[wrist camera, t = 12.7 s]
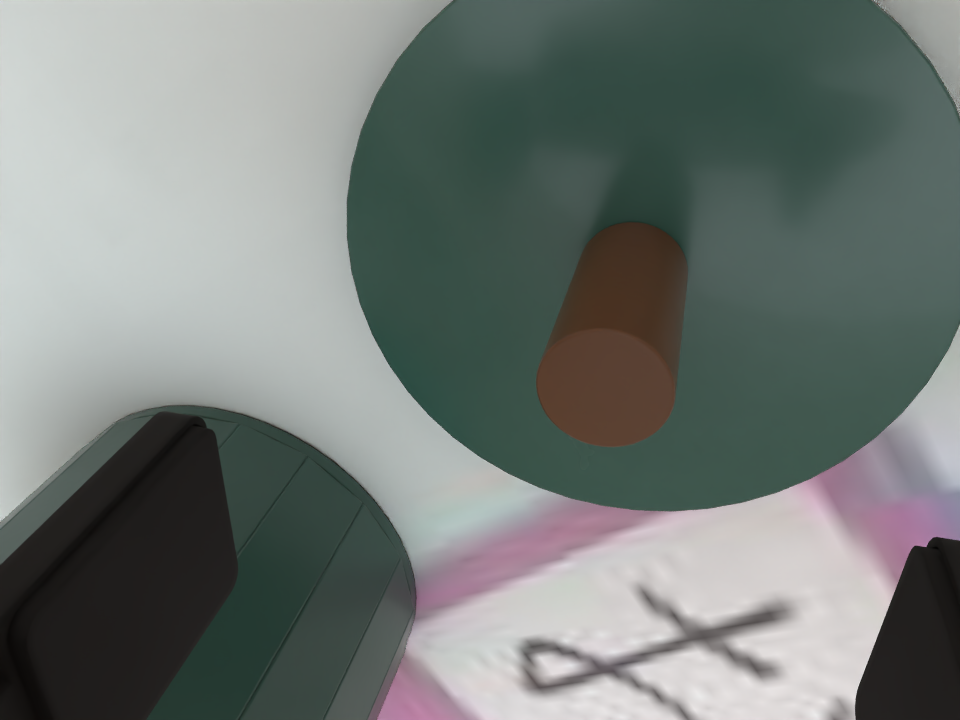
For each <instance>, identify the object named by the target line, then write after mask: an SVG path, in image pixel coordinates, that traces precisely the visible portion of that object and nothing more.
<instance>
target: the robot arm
mask: <svg viewBox="0 0 960 720" xmlns="http://www.w3.org/2000/svg"><path fill="white" fill-rule="evenodd" d="M237 576H238V561H237V555H236V549H235V544H234V538H233V532H232V526H231V520H230V515H229V509H228V503H227V497H226V491H225V485H224V480H223V474H222V468H221V462H220V456H219V450H218V445H217V439H216V435H215V433H214V431H213V430H212V429H209V428H207V426H206V423H205V421H204V420H203V419H202V418H200V417H198V416H192V415H186V414H180V413H174V412H168V411H162V412H158V413H157V414H156V415H154V416H153V417H152V418H151V419H150V420H149V421H148V422H147V423H146V424H145V425H144V426H143V427H142V428H141V429H140V430H139V431H138V432H137V433H136V434H135V435H134V436H132V437H131V438H130V439H129V440H128V441H127V442H126V443H125V444H124V445H123V446H122V447H121V448H120V449H119V450H118V451H117V452H116V453H115V454H114V455H113V456H112V457H111V458H110V459H109V460H108V461H107V462H106V463H105V464H104V465H103V466H102V467H101V468H100V469H98V470H97V471H96V472H95V473H94V474H93V475H92V476H91V477H90V478H89V479H88V480H87V481H86V482H85V483H84V484H83V485H82V486H81V487H80V488H79V489H78V490H77V491H76V492H75V493H74V494H73V495H72V496H71V497H70V498H69V499H68V500H67V501H66V502H64V503H63V504H62V505H61V506H60V507H59V508H58V509H57V510H56V511H55V512H54V513H53V514H52V515H51V516H50V517H49V518H48V519H47V520H46V521H45V522H44V523H43V524H42V525H41V526H40V527H39V528H38V529H37V530H36V531H35V532H34V533H33V534H32V535H30V536H29V537H28V538H27V539H26V540H25V541H24V542H23V543H22V544H21V545H20V546H19V547H18V548H17V549H16V550H15V551H14V552H13V553H12V554H11V555H10V556H9V557H8V558H7V559H6V560H5V561H4V562H3V563H2V564H1V565H0V720H146V719H147V718H148V716H149V715H150V713H151V712H152V710H153V709H154V707H155V706H156V704H157V703H158V701H159V700H160V698H161V697H162V695H163V694H164V692H165V691H166V689H167V688H168V686H169V685H170V683H171V682H172V680H173V679H174V677H175V676H176V674H177V673H178V671H179V670H180V668H181V667H182V665H183V664H184V662H185V661H186V659H187V658H188V656H189V655H190V653H191V652H192V650H193V649H194V647H195V646H196V644H197V643H198V641H199V640H200V638H201V637H202V635H203V634H204V632H205V631H206V629H207V628H208V626H209V625H210V623H211V622H212V620H213V619H214V617H215V616H216V614H217V613H218V611H219V610H220V608H221V607H222V605H223V604H224V602H225V601H226V599H227V598H228V596H229V595H230V593H231V592H232V590H233V588H234V586H235V583H236V580H237ZM855 716H856V720H960V541H958V540H952V539H945V538H939V537H935V538H932V539H931V540H930V541H929V543H928V545H927V547H921V546H914V547H913V548H912V549H911V551H910V553H909V556H908V558H907V561H906V564H905V566H904V569H903V571H902V574H901V577H900V579H899V582H898V585H897V587H896V590H895V592H894V595H893V598H892V600H891V603H890V606H889V608H888V611H887V613H886V616H885V619H884V621H883V624H882V626H881V629H880V632H879V634H878V637H877V640H876V642H875V645H874V647H873V650H872V653H871V655H870V658H869V661H868V663H867V666H866V668H865V671H864V674H863V676H862V679H861V682H860V684H859V687H858V690H857V694H856V702H855Z"/></svg>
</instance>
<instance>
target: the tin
mask: <svg viewBox="0 0 960 720" xmlns="http://www.w3.org/2000/svg"><path fill="white" fill-rule="evenodd" d="M162 411H168V412H174V413H180V414H186V415H192V416H198V417H200V418H202V419H203V420H204V421H205V423H206V426H207V428H209V429H212V430H213V431H214V433H215V435H216V439H217V445H218V450H219V456H220V462H221V468H222V474H223V480H224V485H225V491H226V497H227V503H228V509H229V515H230V520H231V526H232V532H233V538H234V544H235V549H236V555H237V561H238V576H237V580H236V583H235V586H234V588H233V590H232V592H231V593H230V595H229V596H228V598H227V599H226V601H225V602H224V604H223V605H222V607H221V608H220V610H219V611H218V613H217V614H216V616H215V617H214V619H213V620H212V622H211V623H210V625H209V626H208V628H207V629H206V631H205V632H204V634H203V635H202V637H201V638H200V640H199V641H198V643H197V644H196V646H195V647H194V649H193V650H192V652H191V653H190V655H189V656H188V658H187V659H186V661H185V662H184V664H183V665H182V667H181V668H180V670H179V671H178V673H177V674H176V676H175V677H174V679H173V680H172V682H171V683H170V685H169V686H168V688H167V689H166V691H165V692H164V694H163V695H162V697H161V698H160V700H159V701H158V703H157V704H156V706H155V707H154V709H153V710H152V712H151V713H150V715H149V716H148V718H147V719H146V720H377V718H378V716H379V713H380V711H381V708H382V706H383V704H384V701H385V699H386V696H387V694H388V692H389V689H390V687H391V684H392V682H393V679H394V677H395V675H396V672H397V670H398V667H399V665H400V663H401V660H402V658H403V655H404V653H405V649H406V645H407V640H408V637H409V635H410V632H411V629H412V625H413V621H414V618H415V610H416V591H415V582H414V576H413V573H412V569H411V566H410V562H409V559H408V556H407V554H406V552H405V549H404V547H403V545H402V543H401V540H400V538H399V537H398V535H397V533H396V532H395V530H394V528H393V527H392V525H391V523H390V522H389V520H388V518H387V517H386V516H385V515H384V513H383V512H382V511H381V509H380V508H379V507H378V505H377V504H376V503H375V501H374V500H373V499H372V498H371V497H370V496H369V495H368V494H367V493H366V492H365V490H364V489H363V488H362V487H361V486H360V485H359V484H358V483H357V482H356V481H355V480H354V479H353V478H351V477H350V476H349V475H348V474H347V473H346V472H345V471H343V470H342V469H341V468H340V467H339V466H338V465H337V464H335V463H334V462H333V461H331V460H330V459H328V458H327V457H326V456H324V455H323V454H321V453H320V452H319V451H317V450H316V449H314V448H313V447H311V446H309V445H308V444H306V443H304V442H302V441H301V440H299V439H297V438H296V437H294V436H292V435H290V434H288V433H286V432H284V431H282V430H280V429H277V428H275V427H273V426H271V425H269V424H267V423H264V422H261V421H258V420H255V419H252V418H250V417H247V416H244V415H241V414H237V413H232V412H228V411H224V410H219V409H214V408H206V407H197V406H167V407H161V408H154V409H148V410H145V411H142V412H138V413H135V414H132V415H129V416H127V417H125V418H123V419H121V420H119V421H118V422H116V423H114V424H112V425H111V426H110V427H109V428H107V429H106V430H105V431H104V432H102V433H101V434H100V435H99V436H98V437H97V438H95V439H94V440H93V441H91V442H90V443H89V444H87V445H86V446H85V447H83V448H82V449H81V450H80V451H79V452H77V453H76V454H75V455H74V456H73V457H72V458H71V459H70V460H69V461H67V462H66V463H65V464H64V465H63V466H62V467H61V468H60V469H59V470H57V471H56V472H55V473H54V474H53V475H52V476H51V477H50V478H49V479H48V480H46V481H45V482H44V483H43V484H42V485H41V486H40V487H39V488H38V489H36V490H35V491H34V492H33V493H32V494H31V495H30V496H29V497H28V498H26V499H25V500H24V501H23V502H22V503H21V504H20V505H19V506H18V507H16V508H15V509H14V510H13V511H12V512H11V513H10V514H9V515H8V516H6V517H5V518H4V519H3V520H2V521H1V522H0V565H1V564H2V563H3V562H4V561H5V560H6V559H7V558H8V557H9V556H10V555H11V554H12V553H13V552H14V551H15V550H16V549H17V548H18V547H19V546H20V545H21V544H22V543H23V542H24V541H25V540H26V539H27V538H28V537H29V536H30V535H32V534H33V533H34V532H35V531H36V530H37V529H38V528H39V527H40V526H41V525H42V524H43V523H44V522H45V521H46V520H47V519H48V518H49V517H50V516H51V515H52V514H53V513H54V512H55V511H56V510H57V509H58V508H59V507H60V506H61V505H62V504H63V503H64V502H66V501H67V500H68V499H69V498H70V497H71V496H72V495H73V494H74V493H75V492H76V491H77V490H78V489H79V488H80V487H81V486H82V485H83V484H84V483H85V482H86V481H87V480H88V479H89V478H90V477H91V476H92V475H93V474H94V473H95V472H96V471H97V470H98V469H100V468H101V467H102V466H103V465H104V464H105V463H106V462H107V461H108V460H109V459H110V458H111V457H112V456H113V455H114V454H115V453H116V452H117V451H118V450H119V449H120V448H121V447H122V446H123V445H124V444H125V443H126V442H127V441H128V440H129V439H130V438H131V437H132V436H134V435H135V434H136V433H137V432H138V431H139V430H140V429H141V428H142V427H143V426H144V425H145V424H146V423H147V422H148V421H149V420H150V419H151V418H152V417H153V416H154V415H156V414H157V413H158V412H162Z"/></svg>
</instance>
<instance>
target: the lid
mask: <svg viewBox="0 0 960 720" xmlns="http://www.w3.org/2000/svg"><path fill="white" fill-rule="evenodd" d="M347 241H348V248H349V256H350V263H351V271H352V275H353V279H354V282H355V286H356V290H357V294H358V298H359V301H360V305H361V307H362V310H363V312H364V315H365V317H366V320H367V322H368V325H369V327H370V330H371V332H372V335H373V337H374V338H375V340H376V342H377V344H378V346H379V348H380V349H381V351H382V353H383V355H384V357H385V359H386V360H387V362H388V364H389V365H390V367H391V368H392V370H393V371H394V373H395V374H396V375H397V377H398V378H399V380H400V381H401V383H402V384H403V385H404V387H405V388H406V390H407V391H408V392H409V393H410V394H411V396H412V397H413V398H414V399H415V400H416V401H417V402H418V403H419V405H420V406H421V407H422V408H423V409H424V410H425V411H426V412H427V414H428V415H429V416H430V417H431V418H433V419H434V420H435V421H436V422H437V423H438V424H439V425H440V426H441V427H442V428H444V429H445V430H446V431H447V432H448V433H449V434H450V435H451V436H452V437H453V438H455V439H456V440H458V441H459V442H460V443H462V444H463V445H464V446H466V447H467V448H468V449H470V450H471V451H473V452H474V453H475V454H477V455H478V456H479V457H481V458H483V459H484V460H486V461H488V462H489V463H491V464H493V465H495V466H496V467H498V468H500V469H501V470H503V471H505V472H507V473H508V474H510V475H513V476H515V477H517V478H519V479H521V480H524V481H526V482H528V483H530V484H532V485H535V486H537V487H539V488H542V489H545V490H548V491H551V492H554V493H557V494H560V495H562V496H565V497H568V498H572V499H576V500H580V501H585V502H589V503H593V504H597V505H602V506H608V507H616V508H623V509H631V510H644V511H684V510H698V509H709V508H715V507H720V506H726V505H732V504H737V503H743V502H746V501H750V500H753V499H756V498H760V497H763V496H767V495H770V494H774V493H777V492H780V491H782V490H784V489H787V488H789V487H792V486H794V485H797V484H799V483H802V482H804V481H806V480H809V479H811V478H813V477H815V476H817V475H818V474H820V473H822V472H824V471H826V470H828V469H829V468H831V467H833V466H835V465H837V464H838V463H840V462H842V461H844V460H845V459H847V458H848V457H849V456H851V455H852V454H854V453H855V452H856V451H858V450H859V449H861V448H862V447H863V446H865V445H866V444H868V443H869V442H870V441H872V440H873V439H874V438H876V437H877V436H878V435H879V434H880V433H881V432H882V431H883V430H884V429H885V428H886V427H887V426H889V425H890V424H891V423H892V422H893V421H894V420H895V419H896V418H897V417H898V416H899V415H901V414H902V413H903V411H904V410H905V409H906V408H907V407H908V405H909V404H910V403H911V402H912V401H913V399H914V398H915V397H916V396H917V395H918V393H919V392H920V391H921V390H922V389H923V388H924V386H925V385H926V384H927V383H928V381H929V379H930V378H931V376H932V375H933V373H934V372H935V370H936V368H937V367H938V365H939V364H940V362H941V360H942V359H943V357H944V356H945V354H946V352H947V351H948V349H949V347H950V345H951V343H952V340H953V338H954V336H955V334H956V331H957V329H958V327H959V325H960V116H959V113H958V111H957V108H956V105H955V103H954V101H953V99H952V97H951V96H950V94H949V92H948V91H947V89H946V87H945V85H944V84H943V82H942V80H941V79H940V77H939V75H938V73H937V72H936V70H935V68H934V67H933V65H932V63H931V62H930V60H929V59H928V58H927V57H926V56H925V54H924V53H923V52H922V51H921V50H920V48H919V47H918V46H917V45H916V43H915V42H914V41H913V40H912V39H911V37H910V36H909V35H908V34H907V33H906V31H905V30H904V29H903V28H902V27H901V25H900V24H899V23H898V22H897V21H895V20H894V19H893V18H892V17H891V16H890V15H889V14H887V13H886V12H885V11H884V10H883V9H882V8H881V7H879V6H878V5H877V4H876V3H875V2H874V1H873V0H453V1H452V2H451V3H450V4H449V5H447V6H446V7H445V8H444V9H443V10H442V11H441V12H440V13H439V14H438V15H437V16H436V17H434V18H433V19H432V20H431V21H430V22H429V23H428V24H427V25H426V26H425V27H424V28H423V29H422V30H421V31H420V32H419V34H418V35H417V36H416V37H415V39H414V40H413V41H412V42H411V43H410V45H409V46H408V47H407V48H406V50H405V51H404V52H403V53H402V55H401V56H400V57H399V58H398V59H397V61H396V63H395V64H394V66H393V67H392V69H391V71H390V72H389V74H388V76H387V77H386V79H385V81H384V82H383V84H382V86H381V87H380V89H379V91H378V92H377V94H376V96H375V99H374V101H373V103H372V106H371V108H370V110H369V113H368V115H367V117H366V120H365V122H364V124H363V127H362V129H361V133H360V136H359V140H358V144H357V147H356V151H355V155H354V158H353V162H352V166H351V173H350V181H349V189H348V196H347Z"/></svg>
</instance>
